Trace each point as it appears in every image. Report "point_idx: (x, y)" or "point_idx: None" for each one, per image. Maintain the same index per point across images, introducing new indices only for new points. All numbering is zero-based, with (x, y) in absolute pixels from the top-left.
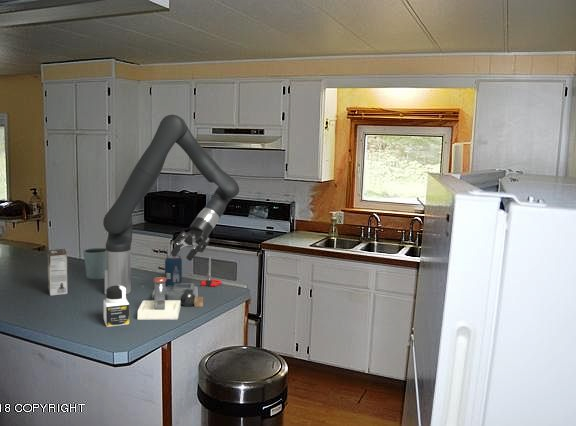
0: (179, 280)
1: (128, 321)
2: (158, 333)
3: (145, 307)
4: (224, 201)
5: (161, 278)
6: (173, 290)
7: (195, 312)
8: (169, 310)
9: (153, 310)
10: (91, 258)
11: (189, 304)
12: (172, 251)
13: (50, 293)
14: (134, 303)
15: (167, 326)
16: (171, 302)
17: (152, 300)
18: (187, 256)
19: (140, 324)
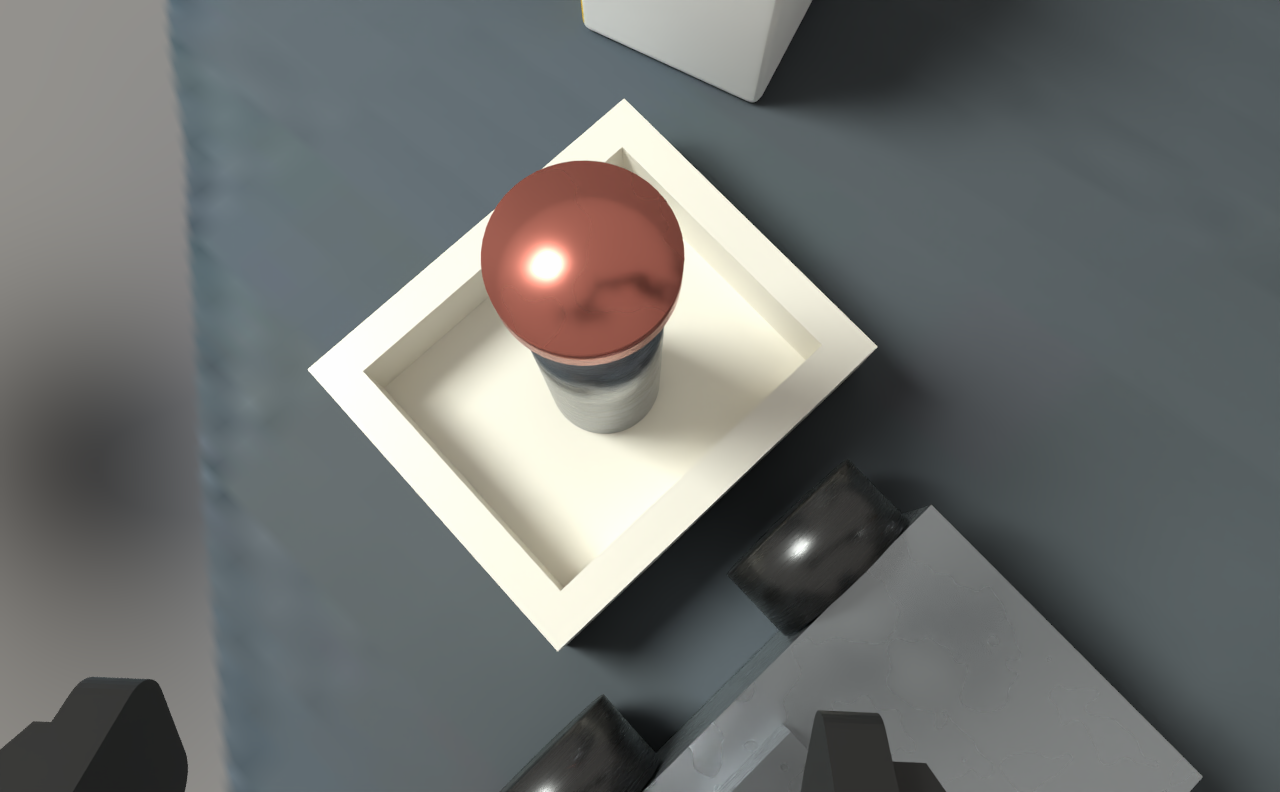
0: None
1: (582, 5)
2: (222, 58)
3: (789, 338)
4: None
5: (560, 267)
6: (782, 735)
7: (342, 665)
8: (383, 317)
9: None
10: None
11: (527, 764)
12: (854, 760)
13: None
14: (1062, 413)
15: (280, 207)
16: (609, 546)
17: (798, 417)
18: (86, 692)
19: (507, 87)
